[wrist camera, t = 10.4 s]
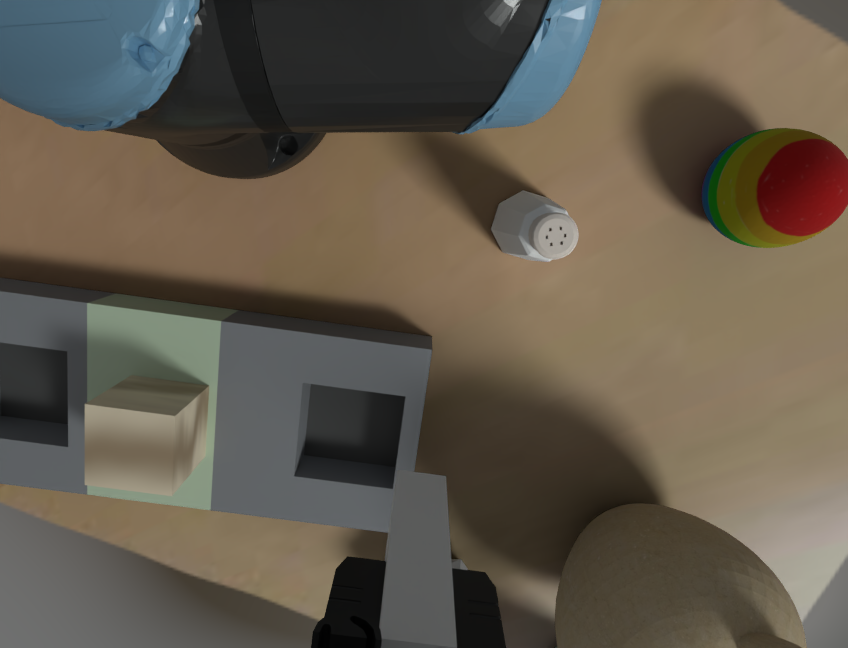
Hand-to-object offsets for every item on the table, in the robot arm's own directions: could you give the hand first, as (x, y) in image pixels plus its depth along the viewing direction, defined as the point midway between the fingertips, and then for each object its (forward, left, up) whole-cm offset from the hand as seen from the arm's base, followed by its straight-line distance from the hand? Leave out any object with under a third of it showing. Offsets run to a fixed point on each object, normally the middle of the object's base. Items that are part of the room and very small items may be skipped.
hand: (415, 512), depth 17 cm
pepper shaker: (-8, +7, -30) cm, 31 cm away
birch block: (+10, -19, -25) cm, 33 cm away
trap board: (+10, -17, -29) cm, 36 cm away
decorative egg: (-13, +23, -30) cm, 40 cm away
